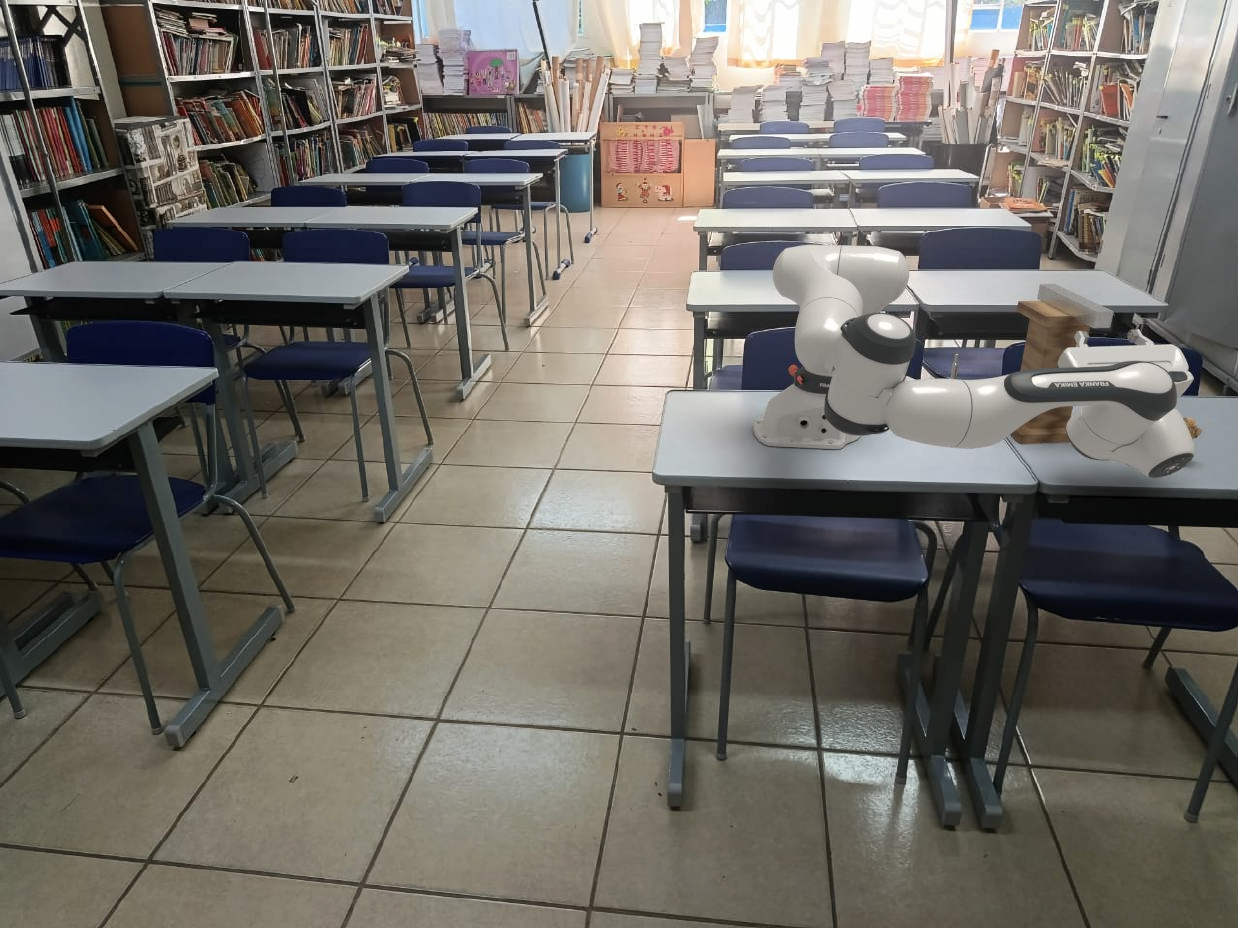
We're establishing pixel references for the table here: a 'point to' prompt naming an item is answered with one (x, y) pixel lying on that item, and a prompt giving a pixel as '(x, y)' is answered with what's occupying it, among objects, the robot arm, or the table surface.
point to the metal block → (1075, 306)
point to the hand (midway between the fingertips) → (1106, 332)
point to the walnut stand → (1046, 366)
